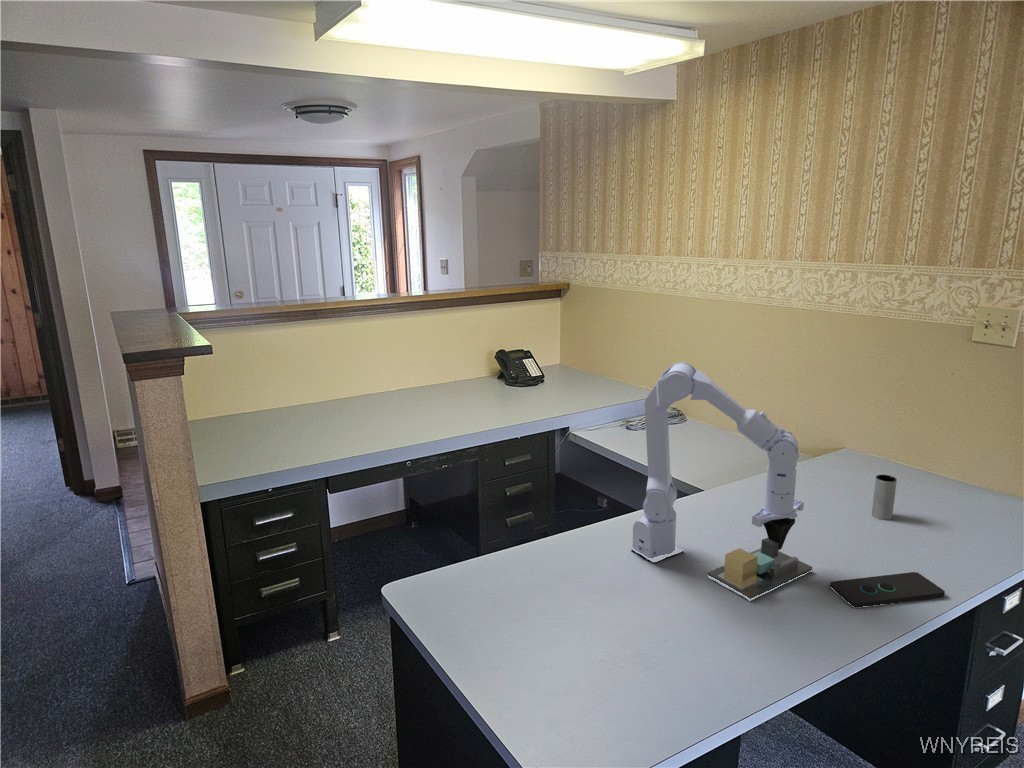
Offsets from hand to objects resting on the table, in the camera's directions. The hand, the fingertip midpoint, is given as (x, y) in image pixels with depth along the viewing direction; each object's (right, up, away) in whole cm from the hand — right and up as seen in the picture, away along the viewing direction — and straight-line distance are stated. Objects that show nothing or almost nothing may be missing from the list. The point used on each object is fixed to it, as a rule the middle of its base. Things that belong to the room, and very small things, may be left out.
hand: (775, 547), depth 140 cm
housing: (-9, -5, -5) cm, 12 cm away
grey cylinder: (+36, +2, +24) cm, 44 cm away
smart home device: (+19, -7, -9) cm, 22 cm away
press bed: (-4, -5, -1) cm, 7 cm away
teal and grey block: (-4, -3, -2) cm, 5 cm away
